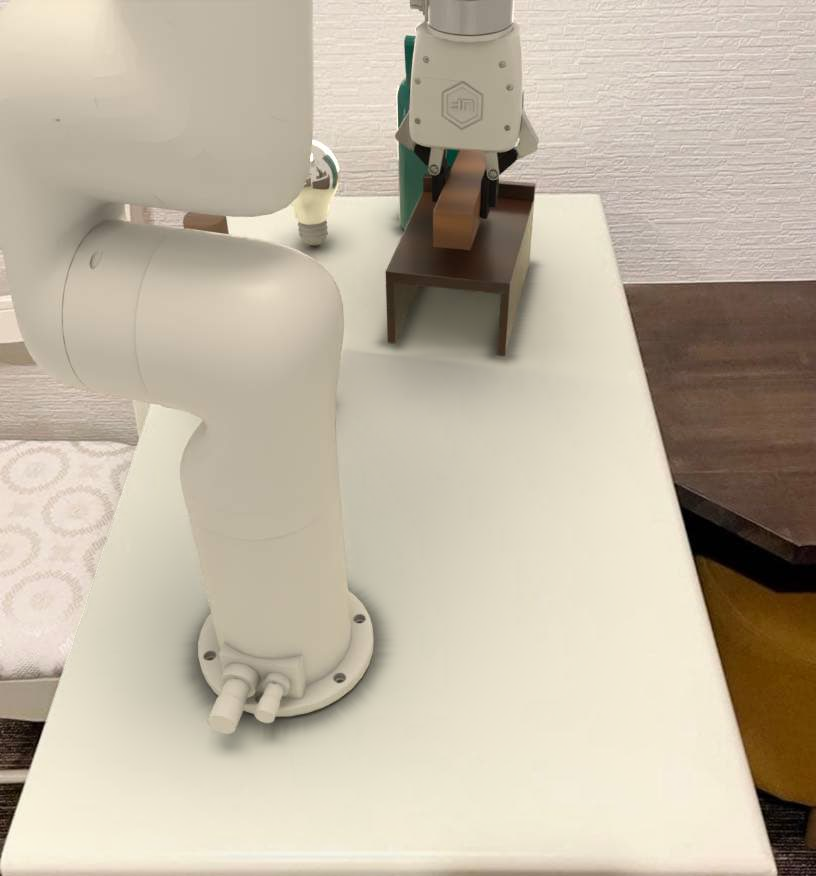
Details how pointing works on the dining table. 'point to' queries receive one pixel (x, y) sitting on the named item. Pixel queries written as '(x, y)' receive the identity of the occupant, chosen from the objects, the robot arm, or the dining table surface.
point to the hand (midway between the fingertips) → (464, 208)
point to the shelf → (465, 257)
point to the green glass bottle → (408, 161)
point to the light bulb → (317, 195)
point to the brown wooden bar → (460, 203)
